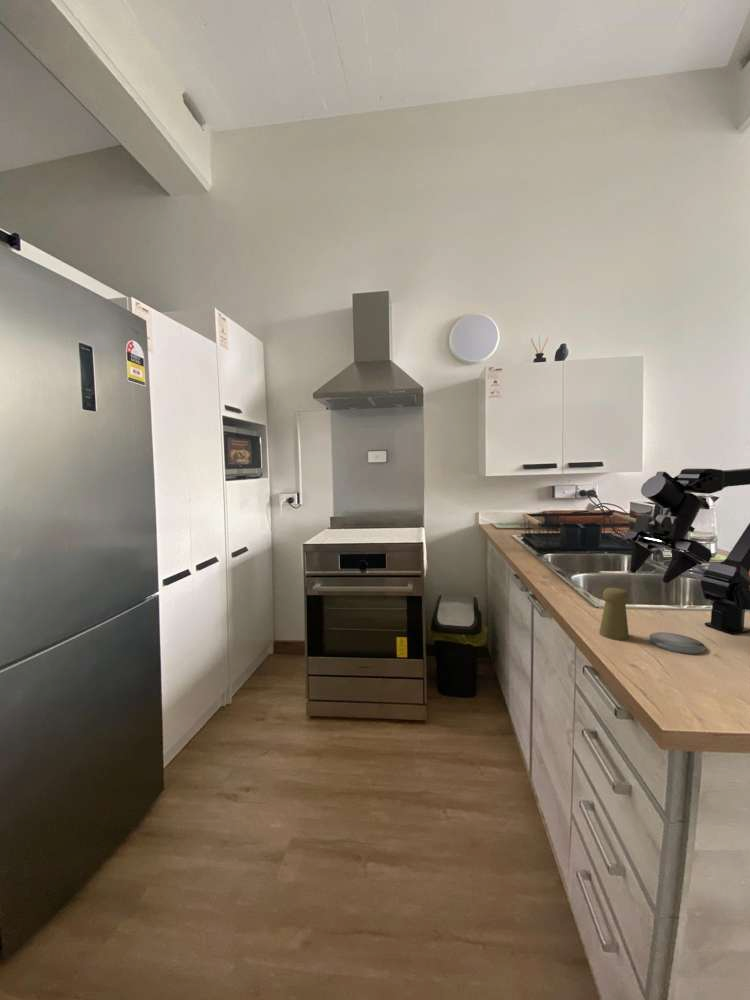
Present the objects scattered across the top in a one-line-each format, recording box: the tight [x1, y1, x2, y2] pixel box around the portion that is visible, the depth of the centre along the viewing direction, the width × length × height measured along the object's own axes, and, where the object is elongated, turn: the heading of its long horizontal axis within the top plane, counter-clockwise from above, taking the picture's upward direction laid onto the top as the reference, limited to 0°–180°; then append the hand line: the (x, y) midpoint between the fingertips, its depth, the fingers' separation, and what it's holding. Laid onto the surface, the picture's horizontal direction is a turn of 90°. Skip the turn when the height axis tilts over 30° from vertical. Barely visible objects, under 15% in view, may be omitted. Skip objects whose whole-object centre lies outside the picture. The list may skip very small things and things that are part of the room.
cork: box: [598, 587, 630, 641], centre depth 99 cm, size 6×6×11 cm
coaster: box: [648, 631, 706, 655], centre depth 94 cm, size 10×10×1 cm
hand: (647, 577), depth 98 cm, fingers open, 9 cm apart
